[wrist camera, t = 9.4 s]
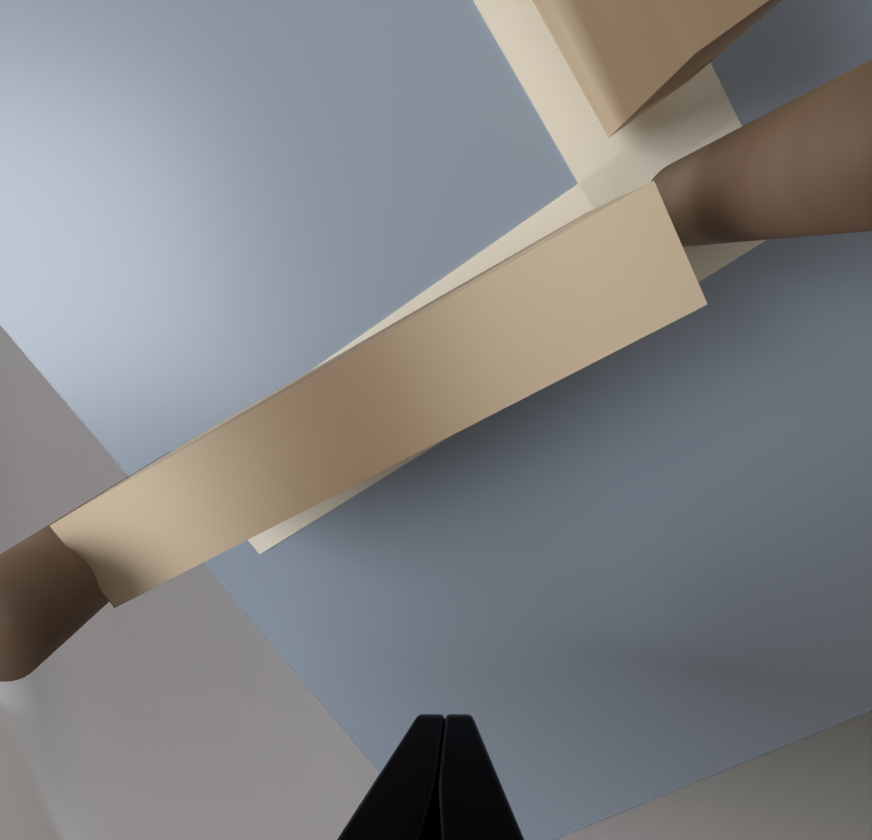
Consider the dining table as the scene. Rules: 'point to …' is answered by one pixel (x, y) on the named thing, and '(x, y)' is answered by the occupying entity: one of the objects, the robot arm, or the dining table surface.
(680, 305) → the bar
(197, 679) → the dining table surface
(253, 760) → the dining table surface
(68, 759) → the dining table surface
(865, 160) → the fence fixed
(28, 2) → the mat
